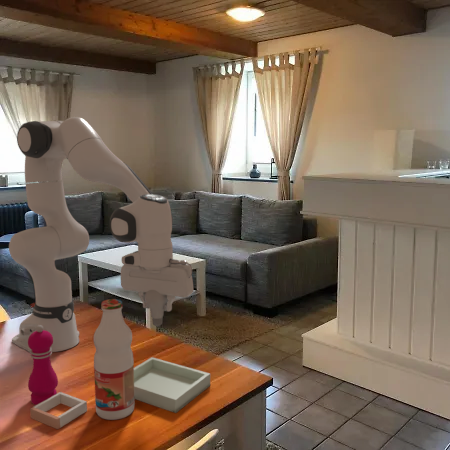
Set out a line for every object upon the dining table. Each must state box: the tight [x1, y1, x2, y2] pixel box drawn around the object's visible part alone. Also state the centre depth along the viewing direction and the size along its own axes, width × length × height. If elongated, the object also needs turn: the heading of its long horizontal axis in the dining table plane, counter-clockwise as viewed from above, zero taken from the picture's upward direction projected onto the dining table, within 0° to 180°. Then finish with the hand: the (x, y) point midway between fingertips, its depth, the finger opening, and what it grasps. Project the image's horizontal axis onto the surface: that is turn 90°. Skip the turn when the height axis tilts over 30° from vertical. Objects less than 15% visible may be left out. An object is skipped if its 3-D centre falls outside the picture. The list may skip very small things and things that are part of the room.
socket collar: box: [29, 391, 88, 430], centre depth 120 cm, size 9×9×2 cm
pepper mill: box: [27, 325, 59, 406], centre depth 126 cm, size 7×7×20 cm
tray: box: [134, 356, 211, 414], centre depth 133 cm, size 20×16×4 cm
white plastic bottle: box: [93, 298, 136, 421], centre depth 120 cm, size 9×9×28 cm
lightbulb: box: [145, 290, 169, 328], centre depth 130 cm, size 6×6×11 cm
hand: (157, 309), depth 130 cm, fingers closed on lightbulb, 5 cm apart
